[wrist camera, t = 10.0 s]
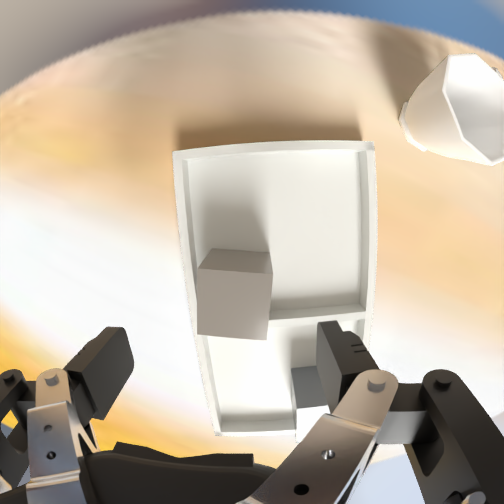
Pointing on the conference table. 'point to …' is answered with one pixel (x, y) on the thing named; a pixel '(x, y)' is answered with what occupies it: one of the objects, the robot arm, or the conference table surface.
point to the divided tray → (279, 261)
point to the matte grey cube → (306, 399)
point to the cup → (458, 111)
